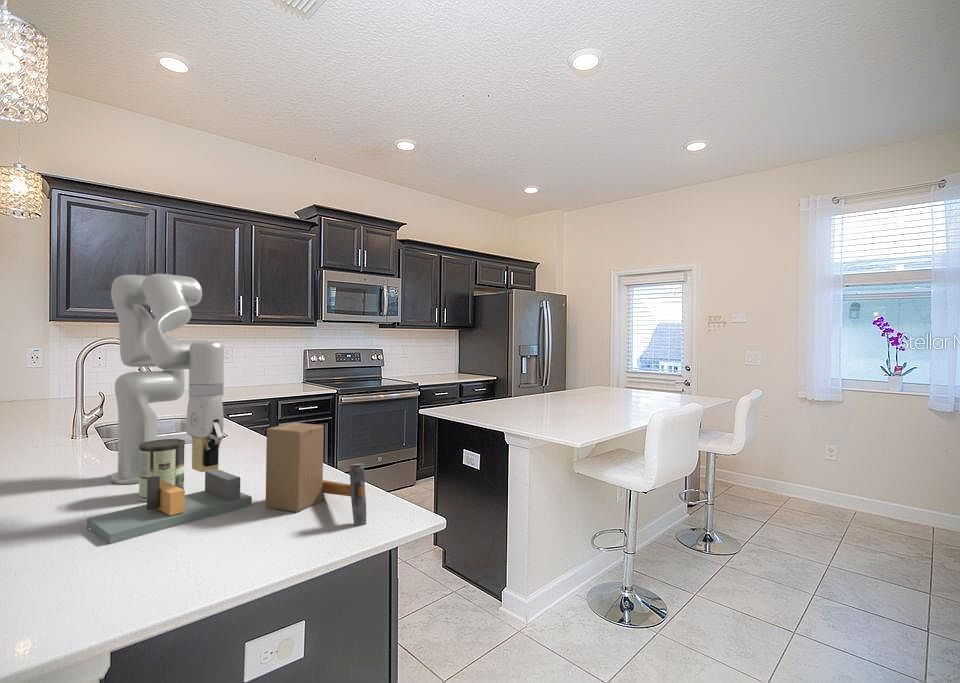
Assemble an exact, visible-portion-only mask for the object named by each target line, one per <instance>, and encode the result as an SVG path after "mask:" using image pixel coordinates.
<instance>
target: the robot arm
mask: <svg viewBox="0 0 960 683" xmlns="http://www.w3.org/2000/svg"><path fill="white" fill-rule="evenodd" d="M110 291H111V292H110V293H111V301H112V305H113V308H114V310H115V312H116V315H117V319H118V326H119V327H118V328H119V330H118V331H119V334H118V335H119V353H120V354H119V355H120V359H121V360H120V361H121V363H122V364H123V365H124V366H127V367H132V368H146V367H148V368H149V367H152V368H153V367H156V368H158V369H161V370H155V371H153V370H147V371H145V370H144V371H142V370H141V371H130V372H126V373H123V374H121V375H119V376H118V377H117V378H116V380H115V382H114V393H115V397H116V398H115V400H116V404H117V419H118V420H117V421H118V422H117V425H118V428H117V431H118V432H117V442H118V443H117V473H115V474H113V475H111V477H110V482H111V483H113V484H119V485H121V484H122V485H123V484H124V485H126V484H127V485H128V484H129V485H130V484H136V483H137V484H139V445H140V444H142V443H144V442H148V441H154V440H158V416H157V414H156V412H155V411H154V410H153V409H152V408H151V407H150V406H149V404H153V403H164V402H171V401H177V400H179V399H181V398H182V396H184V392H185V370H188V398H189V399H188V403H187V409H186V410H187V411H186V423H185V433H186V434H187V435H188V436H190V437H191V438H192V437H197V438H200V439H205V446H206V450H204V466H205V467H208V466H213V465H217V464H218V465H219V456H218V452H219V449H220V444H221V442H222V440H223V439H224V436H223V434H224V405H223V398H222V397H224V382H225V381H224V379H225V378H224V377H225V376H224V374H225V373H224V372H225V371H224V369H225V363H224V362H225V360H224V359H225V348H224V345H223V343H222V342H220V341H208V340H204V339H202V340H199V339H198V340H196V339H194V340H193V339H178V338H177V337H175V336H172V335H164V334H167V333H170V332H172V331H173V332H174V331H175V330H177V329H180V328H182V327H184V326H185V325H186V324H188V323H189V321H190V320H191V318H192V311H191V309H190V307H193V306H196V305H199V303H200V302H201V300H202V298H203V288H202V286H201V284H200V282H199V281H198V280H197V279H195V277H191V276H186V275H177V274H170V273H154V274H150V275H140V274H124V275H120V276H118V277H116V278H115V279H113V281H112V284H111V289H110ZM142 305H145V306H146V305H147V306H149V308H150V311H151V313H152V315H153V316H152V315H151V313H150V312H149V311H148V310H147V309H146V308H145V307H144V306H142ZM153 317H154V318H153ZM209 435H214V436H212V437H208V436H209ZM210 439H214V440H212V441H211V442H210V441H209V440H210Z"/></svg>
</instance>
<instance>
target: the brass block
mask: <svg viewBox="0 0 960 683" xmlns="http://www.w3.org/2000/svg"><path fill="white" fill-rule="evenodd" d="M212 436H214V435H209V436H208V437H212ZM212 440H214V439H210V440H209V441H210V442H211V441H212ZM191 446H192V447H191V469H192V470H195V471H197V472H199V473H205V471H210V470H215V469H218V470H219V463H218V464H217V465H213V466H208V467H205V466H204V450H206V446H205V439H200V438H197V437H192V436H191ZM219 456H220V455H219V452H218V457H219Z"/></svg>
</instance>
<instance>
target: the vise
mask: <svg viewBox="0 0 960 683" xmlns="http://www.w3.org/2000/svg"><path fill="white" fill-rule="evenodd" d="M204 478H205V479H204V490H202V491H201V490H200V491H196V492H193V493H188V494H185V512H182V513H178V514H174V515H168V514H166V513H164V512H162V511H161V510H159V509H154V510H147V503H146V504H142V505H138V506H134V507H130V508H129V507H128V508H124V509H121V510H120V509H119V510H116V511H113V512H108V513H107V512H106V513H103V514H101V515H100V514H99V515H95V516H91V517H86V528H87V527H88V528H87V529H89V528H90V529H91V530H92V532H93V533H94V532H95V533H96V534H95V533H94V534H95V535H97V536H98V535H99V537H100V538H101V539H102V540H104V541H105V542H106V543H108V544H109V545H112V544H115V543H119V542H123V541H127V540H131V539H133V538H137V537H140V536H144V535H147V534H152V533H155V532H157V531H162V530H165V529H166V530H167V529H169V528H172V527H176V526H179V525H183V524H187V523H190V522H194V521H197V520H201V519H205V518H209V517H213V516H216V515H219V514H222V513H225V512H230V511H234V510H236V509H240V508H244V507H247V506H251V505H252V504H253V498H252V497H253V496H251V495H248V494H247V493H244V492H241V477H240V476H237V475H235V474H231V473H229V472H227V471H224V470H220V469H219V468H218V469H215V470H210V471H205V472H204ZM90 529H89V530H90ZM91 530H90V531H91Z"/></svg>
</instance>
